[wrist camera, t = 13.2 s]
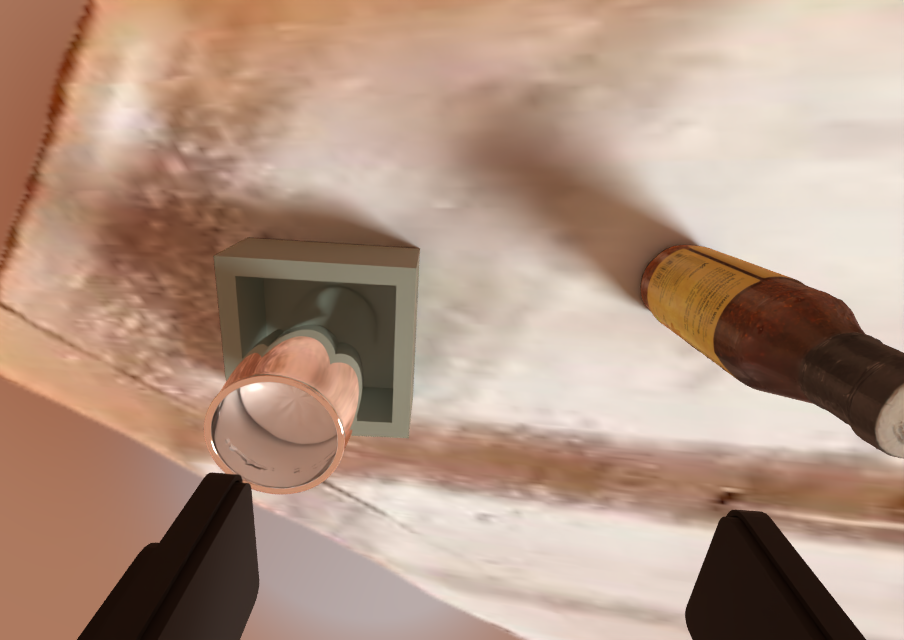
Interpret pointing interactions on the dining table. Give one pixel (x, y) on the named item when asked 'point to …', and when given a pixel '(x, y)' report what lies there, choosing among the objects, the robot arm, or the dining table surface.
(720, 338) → the sauce bottle
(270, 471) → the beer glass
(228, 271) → the box
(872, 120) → the dining table surface
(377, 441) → the dining table surface
